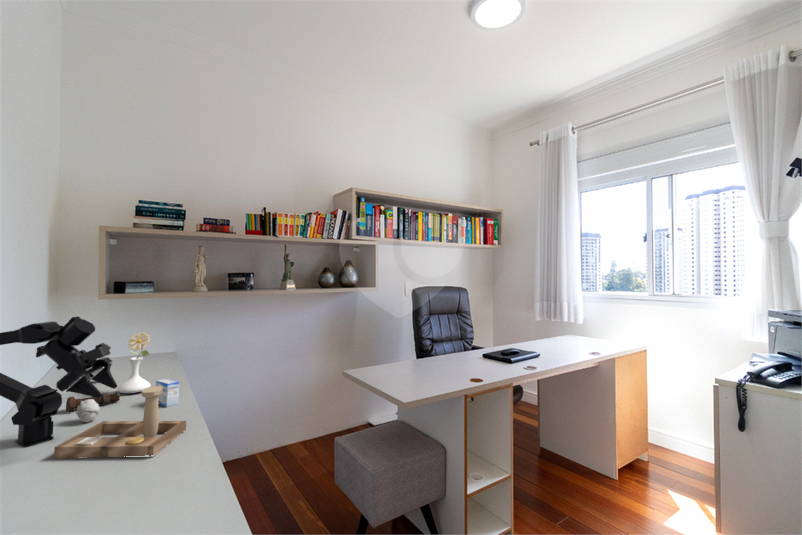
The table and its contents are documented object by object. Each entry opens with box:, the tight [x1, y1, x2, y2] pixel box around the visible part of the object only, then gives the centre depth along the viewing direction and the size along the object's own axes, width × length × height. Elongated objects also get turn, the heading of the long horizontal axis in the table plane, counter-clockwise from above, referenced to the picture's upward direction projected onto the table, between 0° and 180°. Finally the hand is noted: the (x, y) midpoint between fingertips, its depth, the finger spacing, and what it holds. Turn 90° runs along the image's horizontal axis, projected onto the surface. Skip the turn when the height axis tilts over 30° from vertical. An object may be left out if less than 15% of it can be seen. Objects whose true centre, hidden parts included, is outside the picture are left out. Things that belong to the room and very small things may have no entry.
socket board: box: [53, 420, 187, 460], centre depth 109 cm, size 25×18×3 cm
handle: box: [141, 385, 163, 437], centre depth 112 cm, size 5×6×15 cm
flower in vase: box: [117, 331, 152, 394], centre depth 157 cm, size 13×11×25 cm
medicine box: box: [155, 378, 180, 408], centre depth 143 cm, size 8×4×9 cm, turn 62°
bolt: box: [65, 392, 121, 414], centre depth 138 cm, size 6×5×15 cm
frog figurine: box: [75, 399, 101, 423], centre depth 124 cm, size 6×7×7 cm
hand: (108, 391), depth 113 cm, fingers open, 9 cm apart
